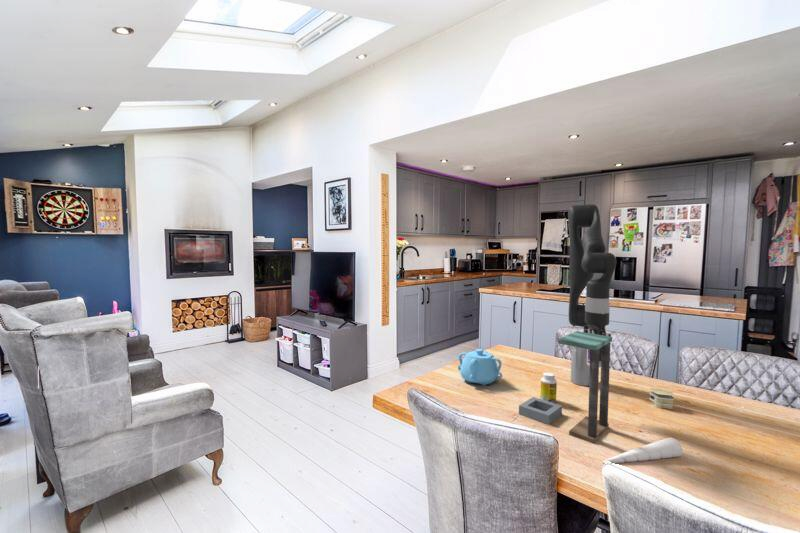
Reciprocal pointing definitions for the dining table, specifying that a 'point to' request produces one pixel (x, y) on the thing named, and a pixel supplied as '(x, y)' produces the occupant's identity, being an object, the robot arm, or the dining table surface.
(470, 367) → the decorative pot
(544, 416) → the socket
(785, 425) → the dining table surface
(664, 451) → the unicorn horn
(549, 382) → the supplement bottle
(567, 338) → the green-topped post stand
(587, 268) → the robot arm
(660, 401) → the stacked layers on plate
